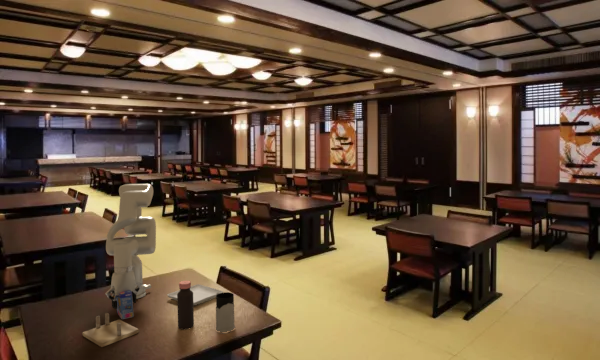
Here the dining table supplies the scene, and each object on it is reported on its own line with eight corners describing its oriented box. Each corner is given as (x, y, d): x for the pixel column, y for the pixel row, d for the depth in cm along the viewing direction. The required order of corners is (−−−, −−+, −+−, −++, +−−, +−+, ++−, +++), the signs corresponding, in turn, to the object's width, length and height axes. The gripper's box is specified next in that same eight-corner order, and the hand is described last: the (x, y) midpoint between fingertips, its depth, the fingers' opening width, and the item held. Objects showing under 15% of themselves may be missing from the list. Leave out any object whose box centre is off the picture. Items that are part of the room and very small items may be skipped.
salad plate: (198, 289, 228) (197, 283, 227) (224, 297, 215) (224, 290, 215) (165, 300, 210) (165, 294, 210) (192, 310, 198) (192, 303, 198)
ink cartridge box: (116, 313, 194) (114, 283, 193) (128, 310, 197) (127, 281, 196) (121, 320, 186) (120, 289, 185) (133, 317, 189) (132, 286, 188)
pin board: (119, 322, 183) (118, 308, 182) (138, 332, 173) (138, 317, 173) (82, 335, 170) (82, 320, 170) (101, 347, 161) (100, 331, 160)
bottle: (177, 324, 181) (176, 280, 179) (192, 322, 184) (191, 279, 182) (178, 331, 175) (177, 285, 173) (195, 328, 178) (194, 283, 176)
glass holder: (219, 335, 171) (218, 300, 170) (208, 322, 183) (207, 290, 182) (238, 330, 176) (238, 296, 174) (226, 318, 188) (225, 286, 186)
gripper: (136, 263, 199) (137, 298, 200) (100, 272, 185) (102, 309, 186) (144, 266, 194) (145, 301, 196) (109, 275, 180) (110, 313, 182)
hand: (124, 305), depth 191 cm, fingers open, 8 cm apart
